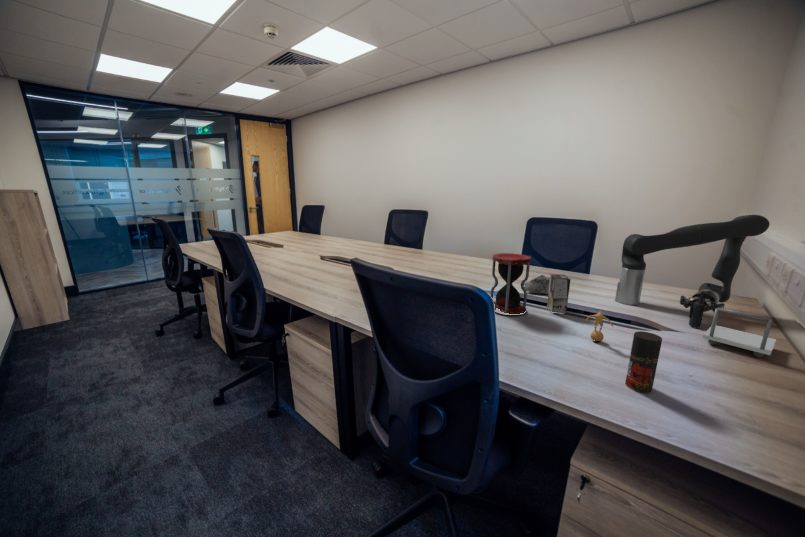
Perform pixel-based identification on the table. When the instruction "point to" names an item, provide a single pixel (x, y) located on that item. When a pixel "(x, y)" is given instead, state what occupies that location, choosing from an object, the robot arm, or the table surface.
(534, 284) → the mineral rock
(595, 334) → the figurine
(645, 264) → the robot arm
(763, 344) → the dolly
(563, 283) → the coffee box
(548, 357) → the table surface
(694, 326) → the two-way radio
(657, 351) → the deodorant
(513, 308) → the hourglass
